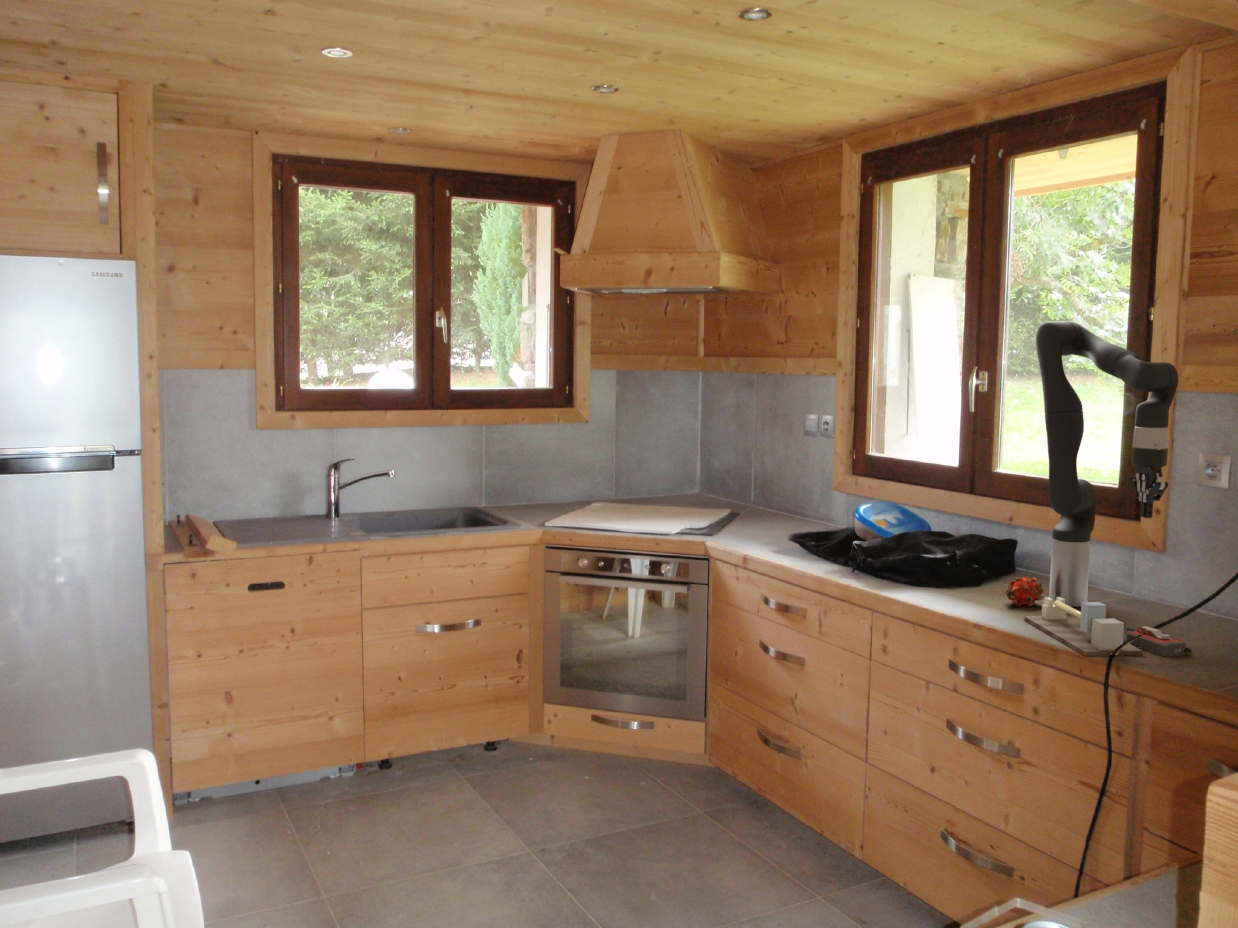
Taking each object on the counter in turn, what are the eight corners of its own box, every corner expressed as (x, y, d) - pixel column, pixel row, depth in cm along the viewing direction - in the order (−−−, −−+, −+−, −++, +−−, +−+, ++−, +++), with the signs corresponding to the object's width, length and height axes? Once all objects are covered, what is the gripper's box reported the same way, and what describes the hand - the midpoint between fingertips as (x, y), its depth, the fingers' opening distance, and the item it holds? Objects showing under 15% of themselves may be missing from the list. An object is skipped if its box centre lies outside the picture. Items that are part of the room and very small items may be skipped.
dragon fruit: (1042, 608, 266) (1011, 620, 261) (1020, 585, 271) (989, 596, 266) (1057, 587, 260) (1026, 599, 255) (1034, 564, 266) (1003, 575, 260)
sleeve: (1080, 629, 229) (1081, 602, 228) (1097, 629, 229) (1099, 602, 228) (1086, 632, 226) (1088, 605, 225) (1104, 632, 226) (1106, 605, 225)
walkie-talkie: (1200, 656, 219) (1130, 632, 238) (1201, 637, 219) (1131, 614, 238) (1167, 659, 217) (1100, 635, 236) (1169, 640, 216) (1101, 617, 235)
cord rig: (1041, 616, 247) (1042, 593, 247) (1061, 616, 247) (1062, 593, 247) (1100, 649, 219) (1101, 623, 219) (1122, 649, 219) (1124, 623, 219)
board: (1024, 620, 248) (1024, 616, 248) (1075, 619, 249) (1075, 615, 248) (1084, 655, 218) (1084, 651, 218) (1142, 655, 219) (1142, 650, 219)
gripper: (1120, 443, 244) (1116, 513, 246) (1150, 448, 231) (1146, 522, 232) (1149, 443, 244) (1145, 513, 246) (1182, 448, 231) (1177, 521, 233)
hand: (1146, 517), depth 239 cm, fingers closed
